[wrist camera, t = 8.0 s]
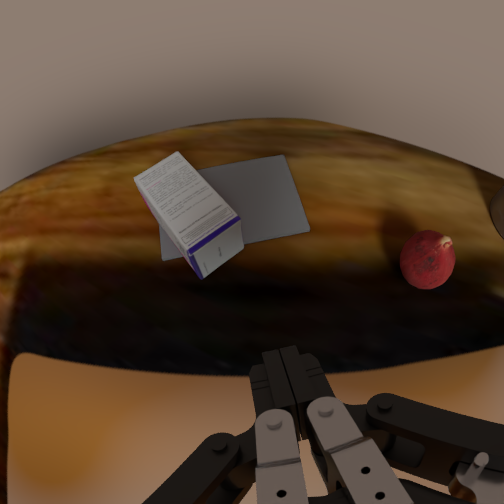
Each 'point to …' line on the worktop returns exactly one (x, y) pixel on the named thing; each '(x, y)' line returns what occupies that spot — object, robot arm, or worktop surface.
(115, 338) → the worktop surface
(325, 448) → the robot arm
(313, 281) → the worktop surface
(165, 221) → the supplement box
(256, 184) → the mat
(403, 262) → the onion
